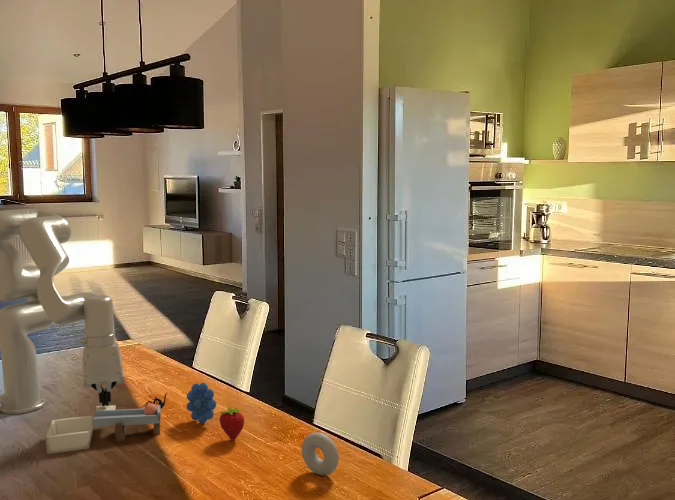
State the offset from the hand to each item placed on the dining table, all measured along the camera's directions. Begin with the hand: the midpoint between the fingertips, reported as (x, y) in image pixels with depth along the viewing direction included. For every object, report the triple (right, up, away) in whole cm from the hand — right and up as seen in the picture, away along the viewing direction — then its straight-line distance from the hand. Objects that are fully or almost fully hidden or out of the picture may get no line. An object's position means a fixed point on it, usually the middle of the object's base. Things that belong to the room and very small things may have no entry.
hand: (105, 404), depth 182 cm
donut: (+61, -9, -31) cm, 69 cm away
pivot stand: (+6, -7, -6) cm, 11 cm away
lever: (+7, -3, -3) cm, 8 cm away
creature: (+10, -5, +12) cm, 16 cm away
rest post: (+15, -6, -4) cm, 17 cm away
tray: (-6, -8, -10) cm, 14 cm away
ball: (+14, 0, -5) cm, 15 cm away
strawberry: (+37, -7, -11) cm, 39 cm away
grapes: (+27, -6, +2) cm, 28 cm away
